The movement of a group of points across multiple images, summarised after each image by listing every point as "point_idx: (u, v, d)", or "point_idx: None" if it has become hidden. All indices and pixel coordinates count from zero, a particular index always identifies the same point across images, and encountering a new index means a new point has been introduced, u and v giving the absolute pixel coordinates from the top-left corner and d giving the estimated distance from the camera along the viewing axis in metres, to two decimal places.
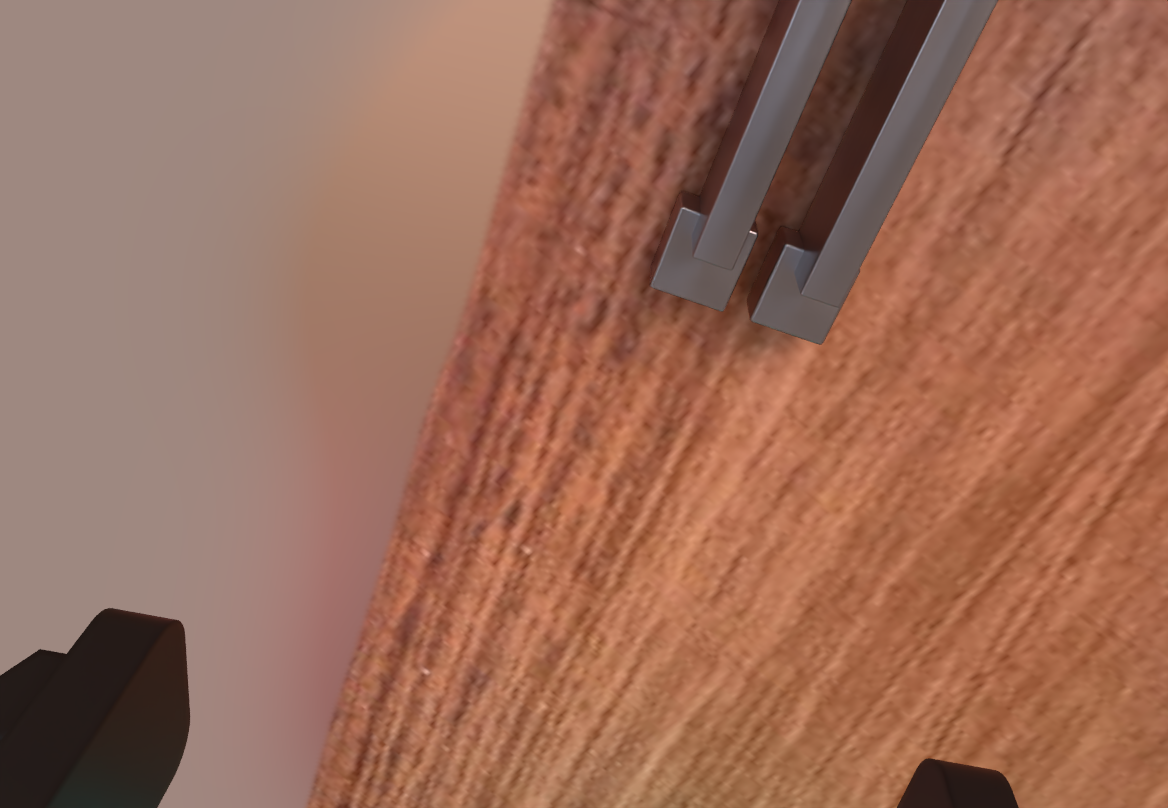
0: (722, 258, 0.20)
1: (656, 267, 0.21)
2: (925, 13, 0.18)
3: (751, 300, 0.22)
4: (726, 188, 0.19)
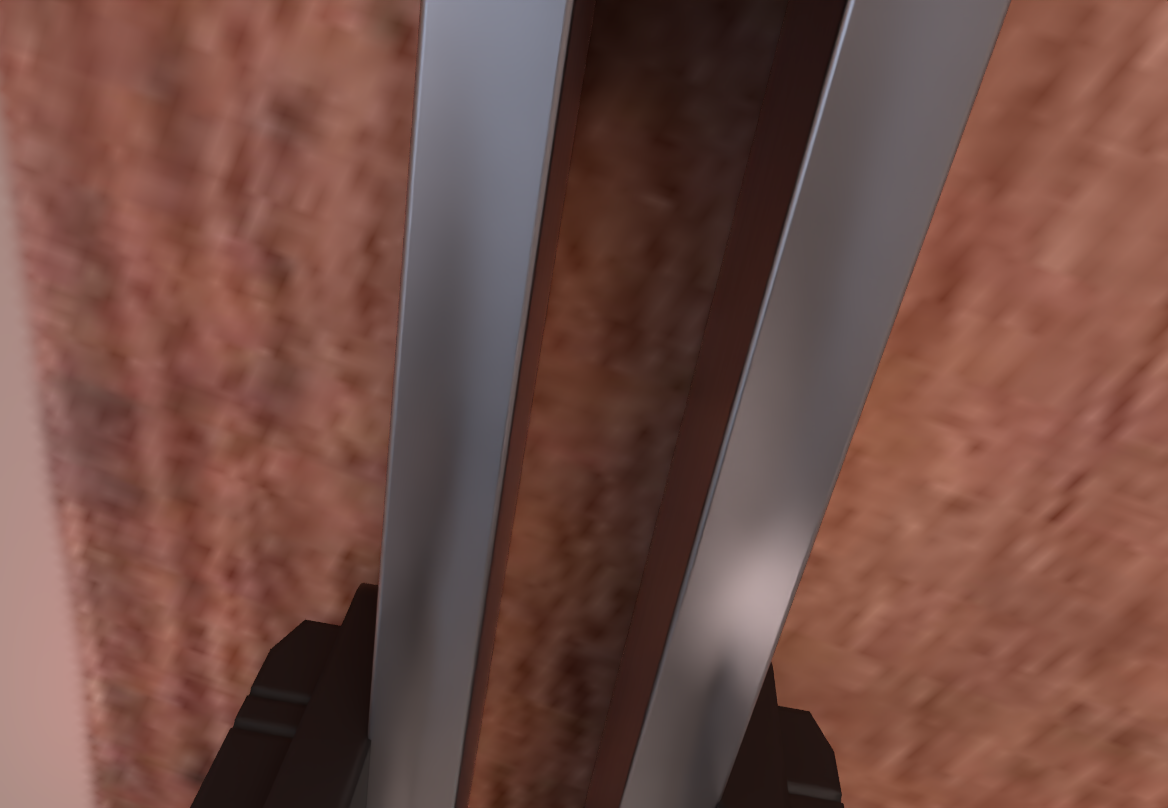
0: None
1: None
2: None
3: None
4: None
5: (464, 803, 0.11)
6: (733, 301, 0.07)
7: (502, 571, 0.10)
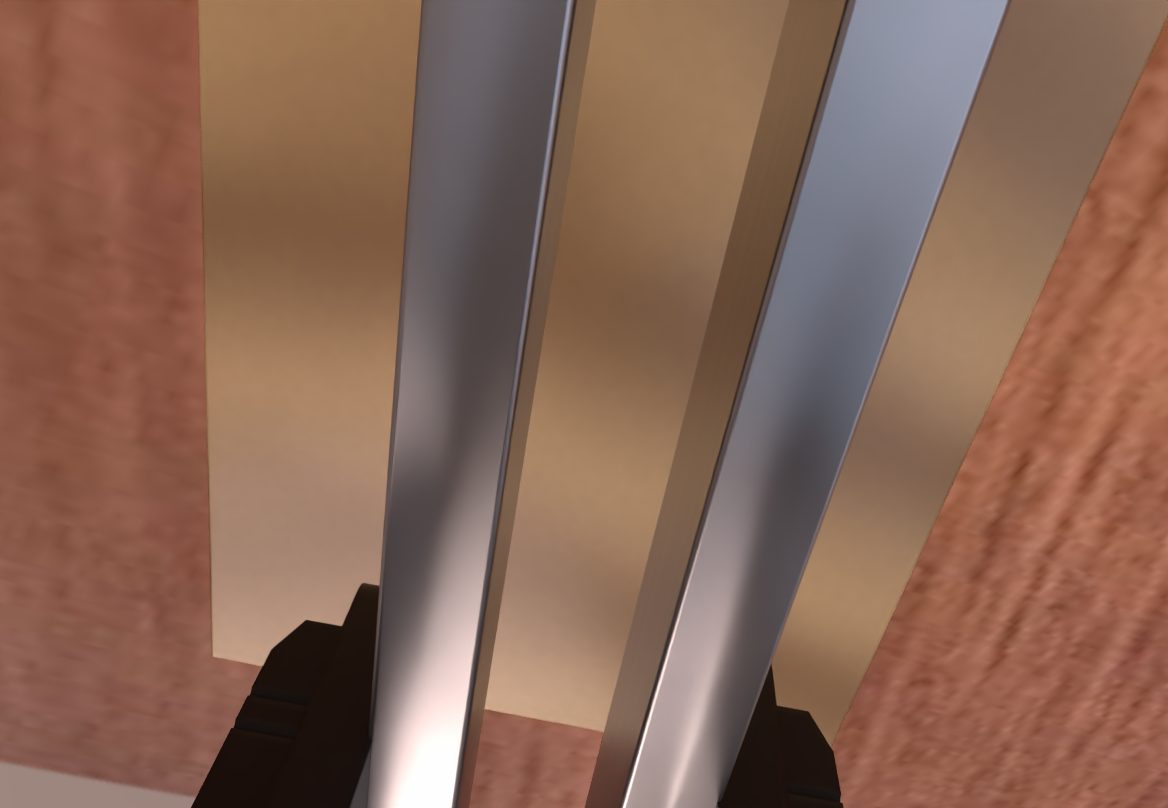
0: None
1: None
2: None
3: None
4: None
5: (465, 802, 0.11)
6: (734, 298, 0.07)
7: (503, 569, 0.10)
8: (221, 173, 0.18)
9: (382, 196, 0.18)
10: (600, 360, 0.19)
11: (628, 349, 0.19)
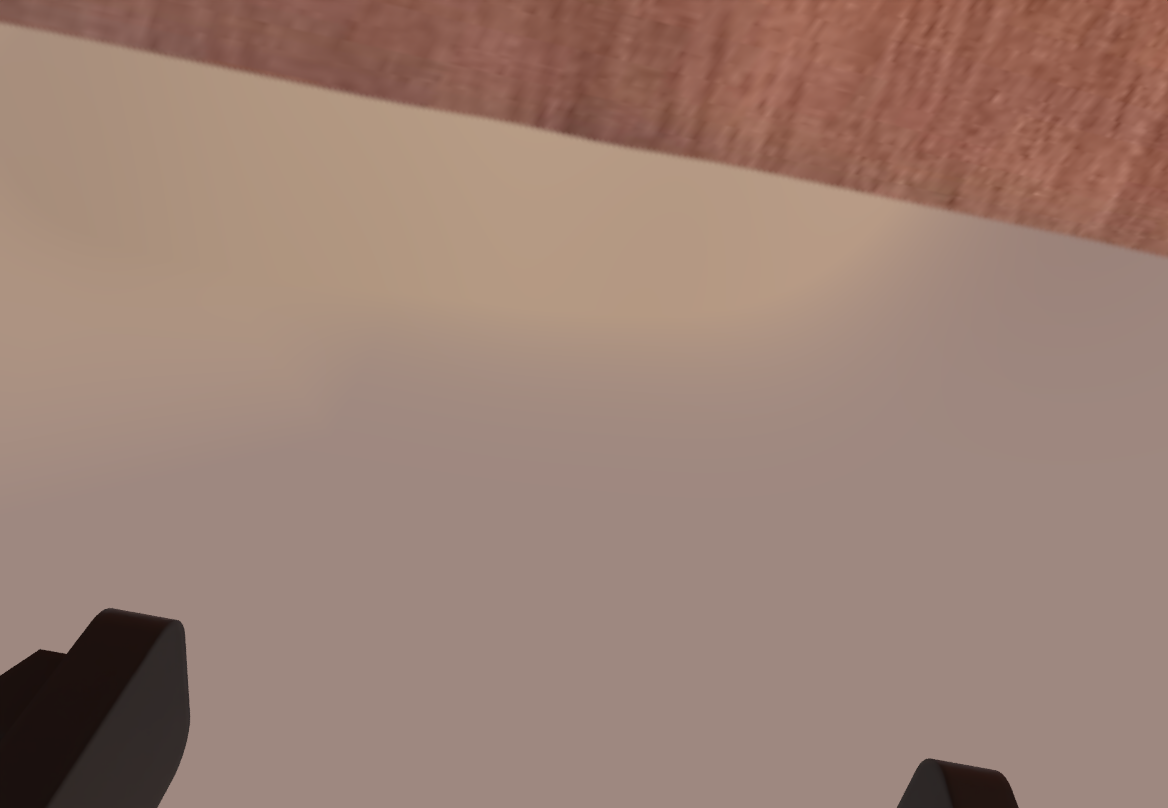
0: None
1: None
2: None
3: None
4: None
5: None
6: None
7: None
8: None
9: None
10: None
11: None
